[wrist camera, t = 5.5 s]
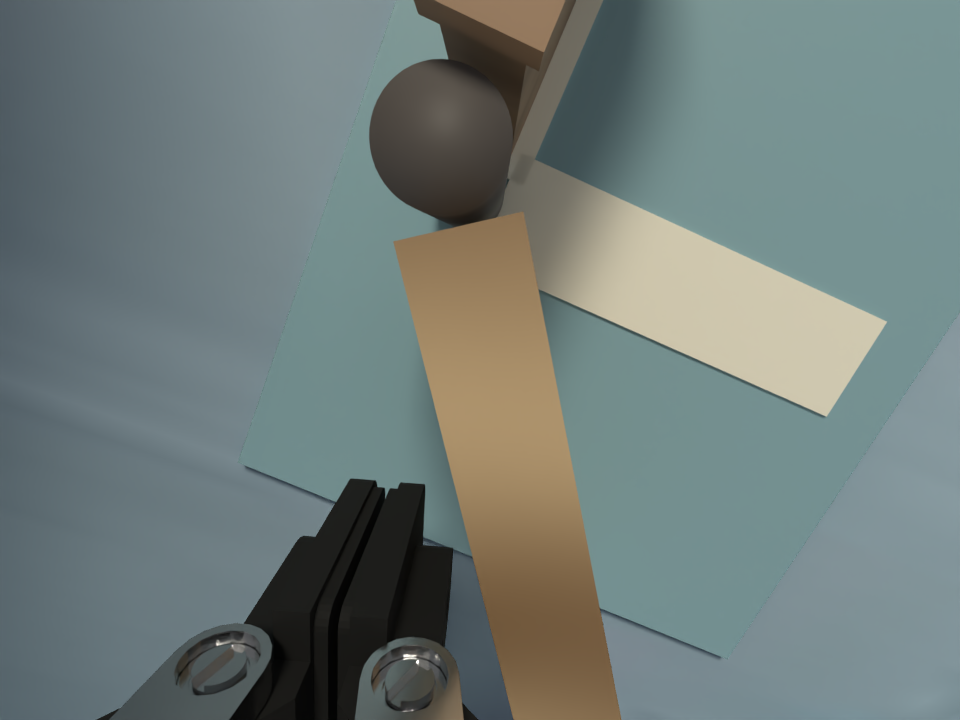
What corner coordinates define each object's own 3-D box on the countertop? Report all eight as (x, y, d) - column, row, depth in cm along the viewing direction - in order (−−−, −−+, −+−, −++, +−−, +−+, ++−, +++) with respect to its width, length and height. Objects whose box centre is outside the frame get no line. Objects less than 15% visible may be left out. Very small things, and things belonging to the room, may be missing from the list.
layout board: (521, -346, 11) (521, -373, 10) (1157, -8, 12) (1185, -19, 11) (244, 457, 16) (235, 463, 15) (721, 649, 17) (728, 661, 16)
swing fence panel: (449, 244, 13) (393, 241, 6) (507, 230, 13) (523, 211, 6) (525, 579, 15) (551, 870, 8) (576, 571, 15) (647, 858, 8)
